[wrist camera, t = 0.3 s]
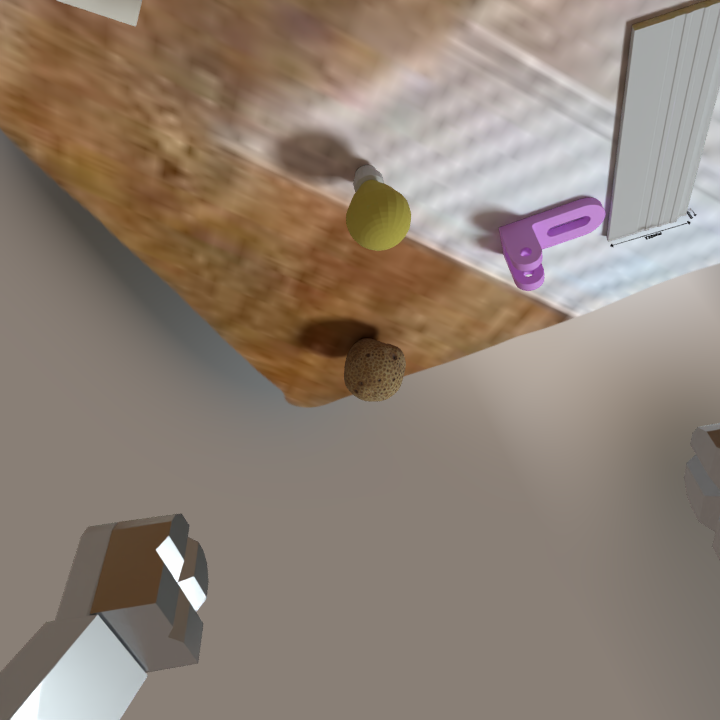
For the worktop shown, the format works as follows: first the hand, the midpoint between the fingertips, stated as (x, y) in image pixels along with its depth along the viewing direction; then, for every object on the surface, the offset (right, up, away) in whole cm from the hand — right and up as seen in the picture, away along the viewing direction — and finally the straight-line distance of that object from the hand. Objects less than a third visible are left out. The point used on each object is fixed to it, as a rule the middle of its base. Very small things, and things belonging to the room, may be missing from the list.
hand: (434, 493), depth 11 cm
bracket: (+23, +20, +75) cm, 81 cm away
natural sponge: (0, +5, +89) cm, 89 cm away
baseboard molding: (+34, +29, +66) cm, 79 cm away
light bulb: (-1, +22, +62) cm, 66 cm away
